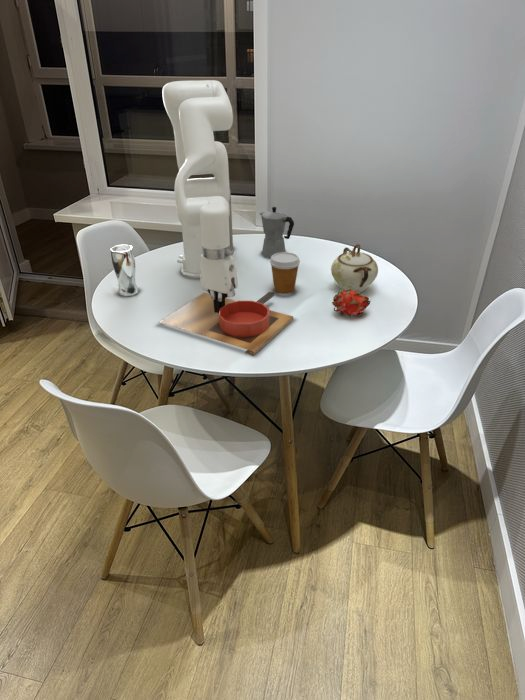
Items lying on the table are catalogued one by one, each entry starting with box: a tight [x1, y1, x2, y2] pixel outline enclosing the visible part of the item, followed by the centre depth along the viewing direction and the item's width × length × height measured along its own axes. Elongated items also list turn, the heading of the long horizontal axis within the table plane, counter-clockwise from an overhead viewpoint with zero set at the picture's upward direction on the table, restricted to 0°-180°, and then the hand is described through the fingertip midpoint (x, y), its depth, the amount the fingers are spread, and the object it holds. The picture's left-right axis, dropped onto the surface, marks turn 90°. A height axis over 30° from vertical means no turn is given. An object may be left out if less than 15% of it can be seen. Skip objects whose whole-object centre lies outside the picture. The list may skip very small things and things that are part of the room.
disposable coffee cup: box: [269, 251, 301, 294], centre depth 157 cm, size 10×10×12 cm
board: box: [158, 292, 294, 356], centre depth 143 cm, size 32×22×1 cm
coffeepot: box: [259, 206, 295, 259], centre depth 183 cm, size 15×9×18 cm, turn 51°
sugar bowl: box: [330, 244, 379, 294], centre depth 159 cm, size 20×15×15 cm
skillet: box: [219, 291, 275, 337], centre depth 143 cm, size 14×23×4 cm, turn 150°
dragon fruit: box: [331, 289, 372, 318], centre depth 146 cm, size 8×8×12 cm
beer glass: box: [110, 244, 139, 297], centre depth 157 cm, size 7×7×15 cm
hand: (219, 311), depth 144 cm, fingers closed
